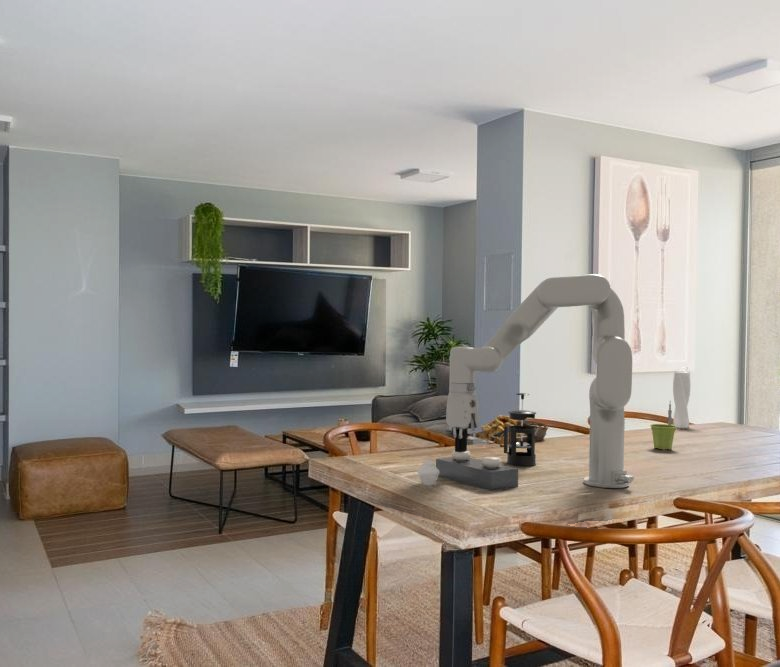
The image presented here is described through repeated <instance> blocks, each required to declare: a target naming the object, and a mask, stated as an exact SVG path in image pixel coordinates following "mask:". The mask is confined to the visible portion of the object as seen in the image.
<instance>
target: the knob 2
mask: <svg viewBox="0 0 780 667" xmlns="http://www.w3.org/2000/svg"><path fill="white" fill-rule="evenodd" d="M481 460H482V466H486V467H487V468H489V469H495V468H496V467H500V466H501V465H502V458H501V457H498V456H483V457H482V458H481Z"/></svg>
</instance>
